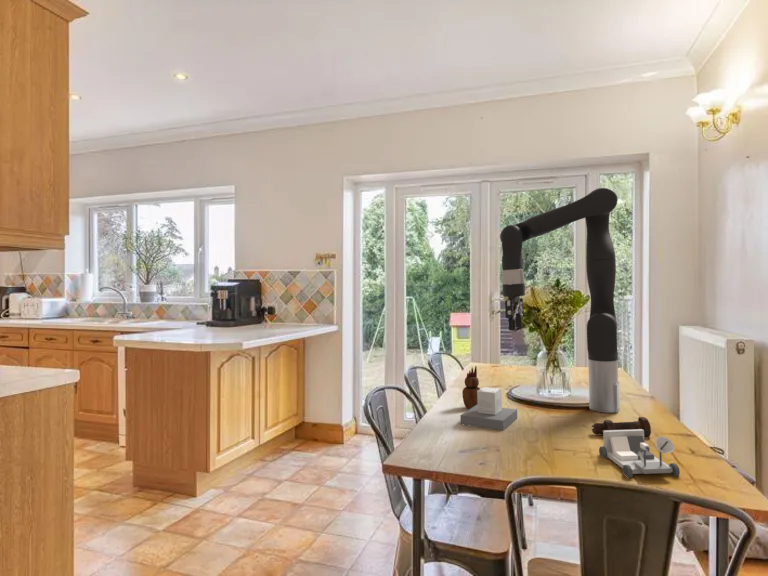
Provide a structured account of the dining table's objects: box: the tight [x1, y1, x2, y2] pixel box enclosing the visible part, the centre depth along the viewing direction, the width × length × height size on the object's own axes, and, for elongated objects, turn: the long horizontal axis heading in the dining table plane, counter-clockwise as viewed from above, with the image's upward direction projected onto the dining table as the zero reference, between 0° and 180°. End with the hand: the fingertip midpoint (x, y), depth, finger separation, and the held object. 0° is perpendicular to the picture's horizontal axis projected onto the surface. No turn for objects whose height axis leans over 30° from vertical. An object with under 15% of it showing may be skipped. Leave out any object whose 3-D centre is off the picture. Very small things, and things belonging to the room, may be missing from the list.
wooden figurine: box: [461, 365, 481, 410], centre depth 174 cm, size 7×6×15 cm
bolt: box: [591, 416, 652, 438], centre depth 140 cm, size 6×5×15 cm
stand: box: [459, 405, 518, 431], centre depth 157 cm, size 14×14×3 cm
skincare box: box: [477, 386, 503, 415], centre depth 157 cm, size 6×6×7 cm
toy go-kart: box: [598, 429, 681, 479], centre depth 117 cm, size 18×10×12 cm
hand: (515, 328), depth 171 cm, fingers open, 8 cm apart
